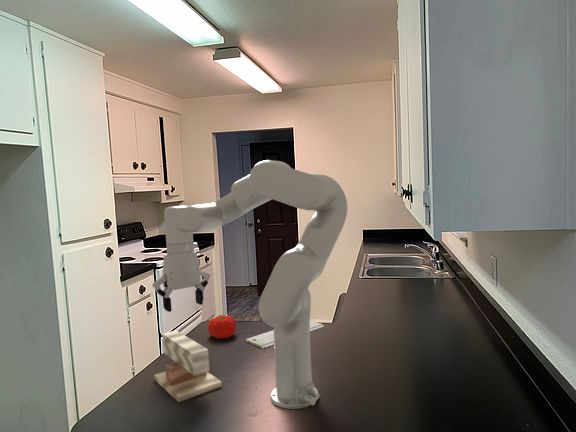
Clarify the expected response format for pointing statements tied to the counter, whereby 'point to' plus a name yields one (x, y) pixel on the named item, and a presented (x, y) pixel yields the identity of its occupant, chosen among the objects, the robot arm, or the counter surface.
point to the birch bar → (186, 352)
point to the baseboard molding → (268, 337)
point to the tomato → (222, 326)
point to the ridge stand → (185, 382)
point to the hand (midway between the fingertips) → (184, 307)
